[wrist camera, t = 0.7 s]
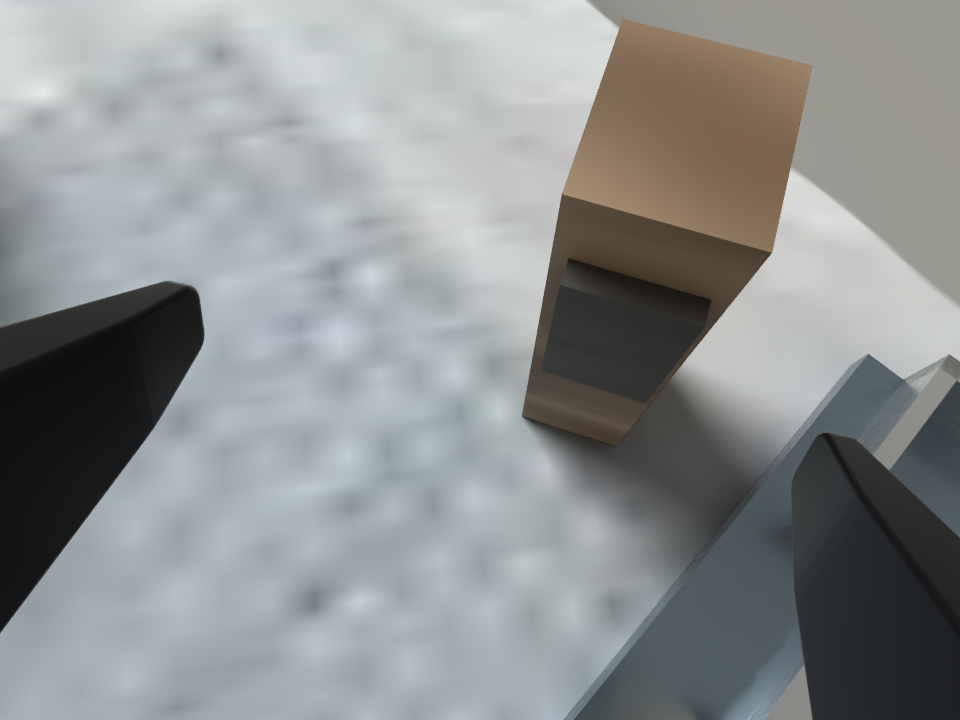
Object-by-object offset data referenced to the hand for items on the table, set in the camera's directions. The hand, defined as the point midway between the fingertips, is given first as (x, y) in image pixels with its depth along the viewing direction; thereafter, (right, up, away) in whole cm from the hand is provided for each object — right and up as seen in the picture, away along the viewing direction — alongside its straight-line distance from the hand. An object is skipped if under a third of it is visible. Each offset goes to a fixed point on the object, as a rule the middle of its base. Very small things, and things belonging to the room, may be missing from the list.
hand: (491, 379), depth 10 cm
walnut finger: (+4, -1, +15) cm, 16 cm away
